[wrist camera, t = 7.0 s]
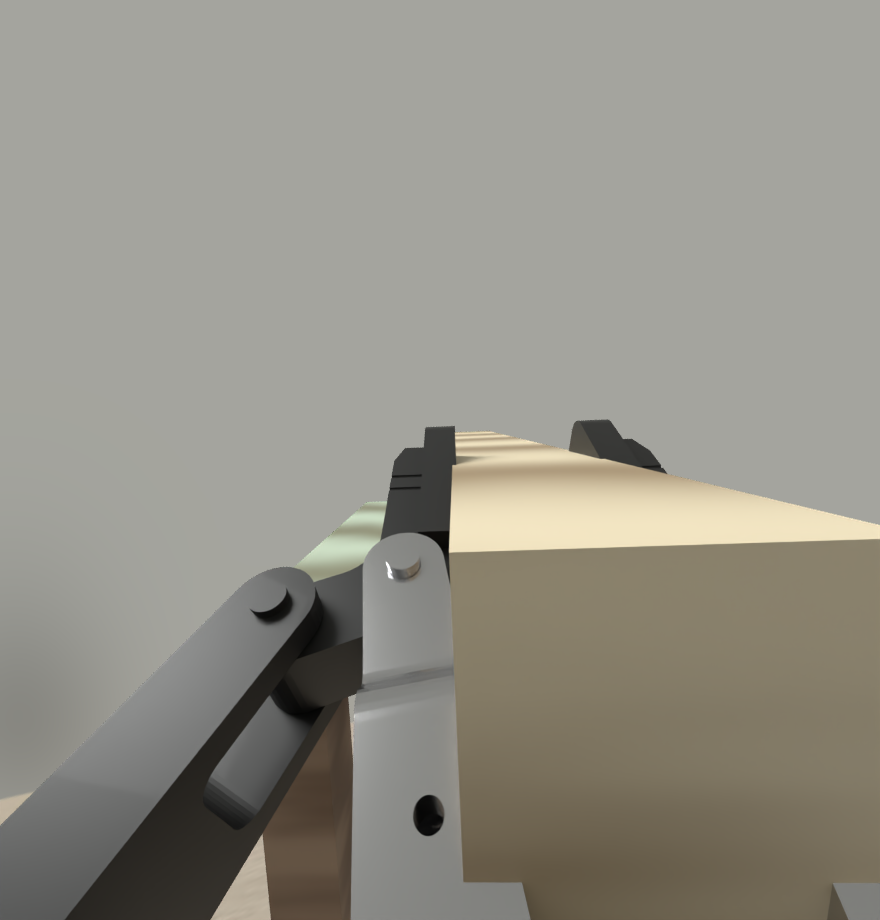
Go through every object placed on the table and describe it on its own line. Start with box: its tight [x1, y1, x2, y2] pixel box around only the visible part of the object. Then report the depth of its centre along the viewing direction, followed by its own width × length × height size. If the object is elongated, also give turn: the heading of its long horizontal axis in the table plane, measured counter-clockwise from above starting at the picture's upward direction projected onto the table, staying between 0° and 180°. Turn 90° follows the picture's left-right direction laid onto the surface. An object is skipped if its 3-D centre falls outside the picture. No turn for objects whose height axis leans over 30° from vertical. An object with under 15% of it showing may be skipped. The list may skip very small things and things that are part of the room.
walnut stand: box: [263, 502, 387, 920], centre depth 27 cm, size 22×20×30 cm
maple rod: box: [449, 431, 880, 920], centre depth 19 cm, size 32×3×3 cm, turn 178°
